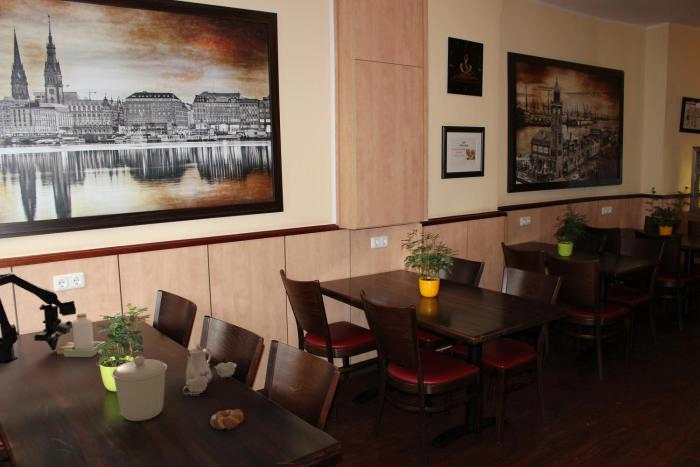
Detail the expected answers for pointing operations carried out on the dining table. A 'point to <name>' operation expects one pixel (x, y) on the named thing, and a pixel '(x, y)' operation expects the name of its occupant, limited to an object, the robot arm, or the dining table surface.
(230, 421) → the braided ring pastry
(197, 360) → the chinaware
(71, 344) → the oak block
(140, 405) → the canister
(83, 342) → the potion bottle
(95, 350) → the tray frame
